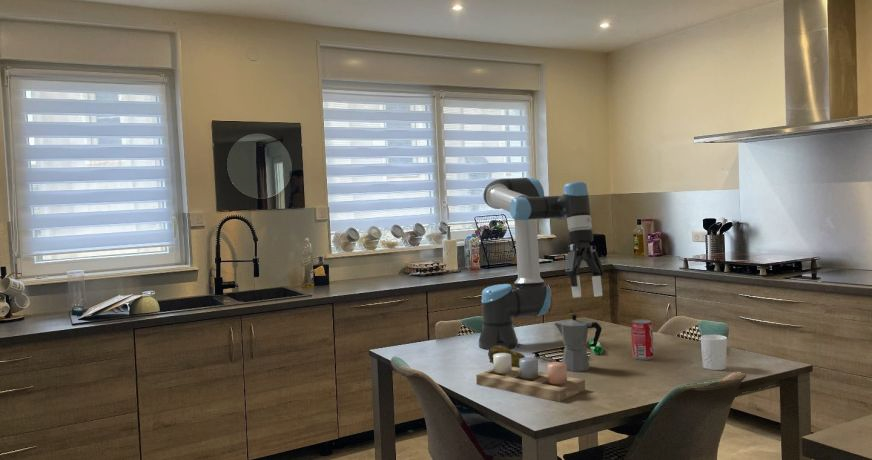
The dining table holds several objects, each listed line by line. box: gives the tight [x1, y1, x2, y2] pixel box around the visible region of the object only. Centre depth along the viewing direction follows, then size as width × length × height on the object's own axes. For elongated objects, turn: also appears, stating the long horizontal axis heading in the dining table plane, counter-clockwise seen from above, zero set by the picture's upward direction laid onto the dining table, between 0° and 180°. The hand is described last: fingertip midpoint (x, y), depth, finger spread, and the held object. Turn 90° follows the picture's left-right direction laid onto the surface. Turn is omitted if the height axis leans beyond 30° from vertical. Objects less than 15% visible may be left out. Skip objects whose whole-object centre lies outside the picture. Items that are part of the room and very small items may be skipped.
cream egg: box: [492, 353, 512, 373], centre depth 208 cm, size 6×6×5 cm
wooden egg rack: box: [475, 367, 586, 403], centre depth 201 cm, size 30×14×3 cm, turn 47°
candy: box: [587, 338, 605, 356], centre depth 243 cm, size 12×3×4 cm
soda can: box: [631, 318, 655, 361], centre depth 230 cm, size 7×7×13 cm
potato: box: [487, 346, 526, 368], centre depth 223 cm, size 8×13×8 cm, turn 90°
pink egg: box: [546, 361, 568, 384], centre depth 194 cm, size 6×6×5 cm
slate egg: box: [519, 356, 539, 378], centre depth 201 cm, size 6×6×5 cm
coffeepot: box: [554, 313, 603, 373], centre depth 220 cm, size 15×9×18 cm, turn 68°
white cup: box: [700, 334, 728, 371], centre depth 215 cm, size 8×8×10 cm
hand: (588, 296), depth 209 cm, fingers open, 13 cm apart
